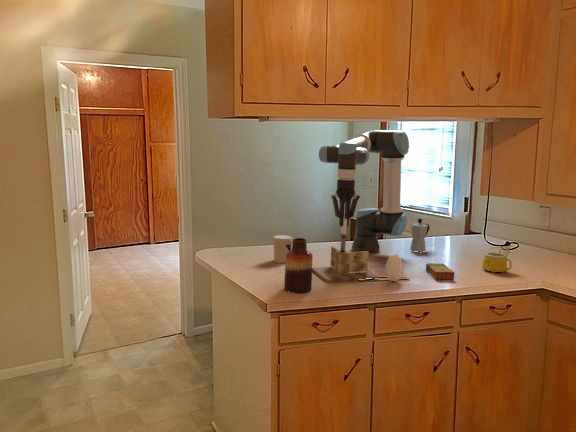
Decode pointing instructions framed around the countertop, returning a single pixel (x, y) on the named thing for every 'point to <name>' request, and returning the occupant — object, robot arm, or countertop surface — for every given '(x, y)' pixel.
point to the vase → (298, 267)
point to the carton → (440, 271)
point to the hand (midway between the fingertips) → (343, 233)
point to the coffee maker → (419, 236)
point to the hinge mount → (345, 267)
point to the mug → (496, 261)
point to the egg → (394, 268)
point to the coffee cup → (281, 247)
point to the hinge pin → (343, 242)
